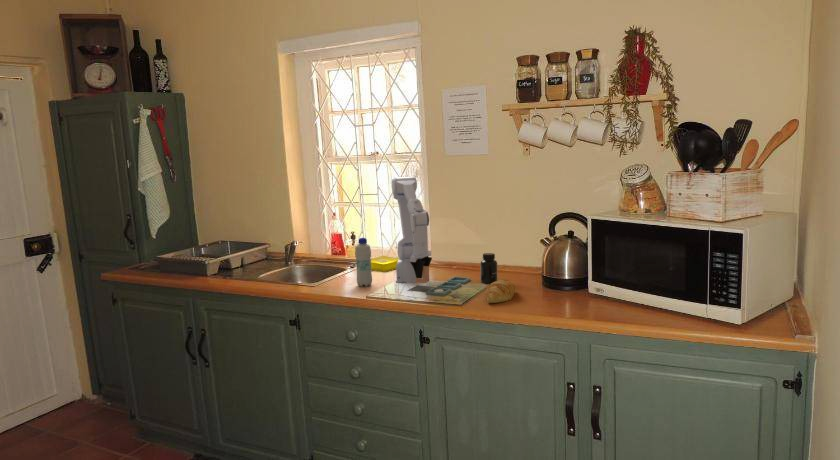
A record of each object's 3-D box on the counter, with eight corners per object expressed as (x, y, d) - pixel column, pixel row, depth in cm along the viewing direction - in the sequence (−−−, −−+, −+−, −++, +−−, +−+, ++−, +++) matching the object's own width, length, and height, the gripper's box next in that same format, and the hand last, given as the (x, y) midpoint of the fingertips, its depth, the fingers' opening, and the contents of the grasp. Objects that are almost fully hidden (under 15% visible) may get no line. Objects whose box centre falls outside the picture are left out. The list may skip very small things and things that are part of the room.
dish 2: (437, 289, 226) (437, 285, 226) (444, 285, 232) (444, 281, 232) (454, 290, 223) (454, 287, 223) (461, 286, 229) (461, 283, 229)
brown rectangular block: (415, 282, 225) (415, 267, 224) (420, 280, 228) (419, 265, 228) (425, 283, 223) (424, 268, 222) (429, 281, 227) (429, 266, 226)
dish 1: (426, 295, 217) (426, 291, 217) (434, 291, 224) (434, 287, 223) (443, 296, 214) (443, 293, 214) (451, 292, 220) (451, 288, 220)
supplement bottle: (497, 284, 230) (496, 255, 228) (479, 284, 231) (479, 255, 229) (498, 281, 236) (497, 252, 235) (481, 280, 238) (480, 252, 236)
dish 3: (447, 283, 235) (447, 280, 235) (454, 279, 241) (454, 276, 241) (463, 285, 232) (463, 281, 231) (470, 281, 238) (470, 277, 238)
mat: (406, 291, 224) (406, 290, 224) (417, 286, 232) (417, 285, 232) (427, 293, 220) (427, 292, 220) (437, 287, 228) (437, 287, 228)
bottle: (375, 284, 239) (373, 236, 236) (367, 288, 233) (365, 239, 230) (361, 283, 241) (359, 236, 239) (353, 286, 235) (350, 238, 233)
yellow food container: (406, 267, 273) (406, 257, 273) (384, 273, 262) (383, 262, 262) (384, 264, 283) (384, 254, 283) (361, 269, 272) (361, 259, 272)
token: (433, 293, 217) (433, 291, 217) (435, 291, 221) (435, 289, 221) (442, 294, 216) (442, 291, 216) (444, 291, 220) (444, 289, 220)
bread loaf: (496, 315, 200) (506, 297, 197) (473, 300, 203) (482, 281, 201) (518, 299, 218) (527, 282, 215) (495, 285, 222) (504, 268, 219)
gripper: (421, 246, 216) (422, 281, 217) (437, 240, 228) (438, 273, 230) (404, 245, 219) (406, 280, 220) (421, 239, 231) (423, 272, 233)
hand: (421, 276), depth 226 cm, fingers closed on brown rectangular block, 4 cm apart
